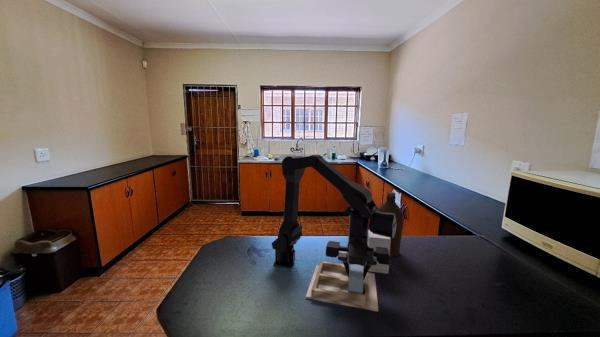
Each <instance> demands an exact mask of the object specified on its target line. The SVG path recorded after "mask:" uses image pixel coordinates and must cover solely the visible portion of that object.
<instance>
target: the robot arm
mask: <svg viewBox="0 0 600 337" xmlns="http://www.w3.org/2000/svg"><path fill="white" fill-rule="evenodd" d="M306 168H307V169H308V168H312V169H313V170H315V171H316V172H317V173H318V175H319V174H320V175H321V176H322V177H323V178H324V179H325V180H326V181H328V183H329V184H330V185H332V186H333V187H334V188H336V189H337V190H338V191H339V193H340V194H341V196H342V198H343V200H344V201H345V202H346V203H347V205H348V206H347V208H345V210H343V211H342V214H344V215H348V216H349V217H348V218H349V219H348V236H347V238H348V239H347V240H348V241H347V246H343V245H342V246H341V242H340V241H335V240H333V241H332V240H329V241H328V242H327V244H326V247H325V257H329V258H337V260H338V261H341V262H342V264H344V266H345V269H346V273H347V276H348V278H349V270H350V268H349V265H350V264H352V265H353V264H356V265H360V266H363V267H364V268H363V280H364V279H365V277H366V274H367V272H368V273H369V271H368V270H369V269H370V267H371V266H372V265H376V264H377V262H378V263H379V264H385V265H389V266H390V265H391V260H392V259H391V258H392V257H391V256H390V252H389V249H388V248H384V247H376V248H375V250H374V248H369V247H368V245H367V244H368V230H370V232H372V233H373V234H376V235H381V236H385V237H390V238H394V236H395V233H396V226H397V223H396V218H395V213H386V212H381V211H378V210H379V209H378V208H379V207H378V206H377V204H376V202H375V201H374V199H373V193H372V191H371V190H370V189H368V188H366V187H365V186H363V185H362V184H360V183H358V182H355V181H352V180H350V179H349V178H348V177H347V176H345V175H344V174H343V173H341V172H340V171H339V170H338V169H337V168H336V167H334V166H333V165H332V164H331V163H329V162H328V161H327V160H326V159H325V158H324V157H323V156H322V155H321V154H318V153H317V154H311V155H308V156H301V155H288V156H285V157H284V158H283V159H282V161H281V172H282V176H283V178H284V180H285V187H284V189H285V190H284V191H285V193H284V207H283V210H284V211H283V221H282V222H281V225H280V227H279V228H278V233H277V238H276V239H274V241H272V242H271V247H272V249H273V250H274V251H275V253H274V254H275V256H274V257H275V258H274V260H275V261H274V262H273V266H278V267H285V268H291V267H292V266H293V265H294V263H295V261H296V250H295V245H297V242H298V241H299V240H300V239H301V237H302V236H303V226H304V225H302V224H300V223H299V221H298V214H299V213H298V212H299V198H300V184H301V183H300V182H301V180H302V178H303V177H304V174H305V170H306ZM376 261H377V262H376Z"/></svg>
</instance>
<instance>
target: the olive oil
mask: <svg viewBox="0 0 600 337" xmlns="http://www.w3.org/2000/svg"><path fill="white" fill-rule="evenodd" d="M396 194H397V193H396V192H394V191H387V192H386V200H385V202H383V204H381V205H380V206H379V207H378V209H379V210H378V211H381V212H386V213H395V218H396V223H397V226H396V233H395V236H394V238H390V239H391V243H390V256H391V258H396V257H398V256H399V255H400V252H401V244H402V243H401V242H402V234H403V229H404V221H405V216H404V211H403V210H402V209H401V207H400V206H399V205H398V204H397V203H396V198H397V197H396Z"/></svg>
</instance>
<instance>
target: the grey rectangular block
mask: <svg viewBox="0 0 600 337" xmlns="http://www.w3.org/2000/svg"><path fill="white" fill-rule="evenodd" d="M349 265H350V270H349V285H348V292H350V293H356V294H362V295H363V267H364V266H360V265H356V264H353V265H352V264H350V263H349Z"/></svg>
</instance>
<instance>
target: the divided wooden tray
mask: <svg viewBox="0 0 600 337" xmlns="http://www.w3.org/2000/svg"><path fill="white" fill-rule="evenodd" d="M349 268H350V264H349ZM363 268H364V266H363ZM348 285H349V278H348V276H347V273H346V269H345V266H344V264H343V263H337V262H331V261H324V260H323V261H322V260H320V263H319V265H318V264H316V266H315V269H314V272H313V275H312V277H311V280H310V283H309V286H308V289H307V292H306V294H305V299H309V300H315V301H320V302H324V303H329V304H335V305H341V306H347V307H352V308H356V309H360V310H361V309H362V310H368V311H373V312H379V303H378V295H377V294H378V293H377V284H376V276H375V272H369V271H368V272H367V274H366V277H365V279H364V280H363V295H362V294H356V293H350V292H348Z"/></svg>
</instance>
